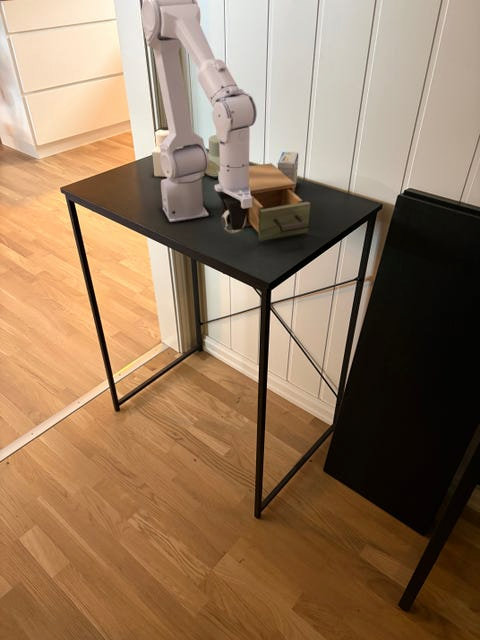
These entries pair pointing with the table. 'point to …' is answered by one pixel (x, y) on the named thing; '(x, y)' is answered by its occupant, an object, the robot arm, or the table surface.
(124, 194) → the table surface
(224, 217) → the wristwatch
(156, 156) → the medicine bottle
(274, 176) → the cabinet
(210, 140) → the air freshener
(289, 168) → the medicine box
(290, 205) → the drawer
